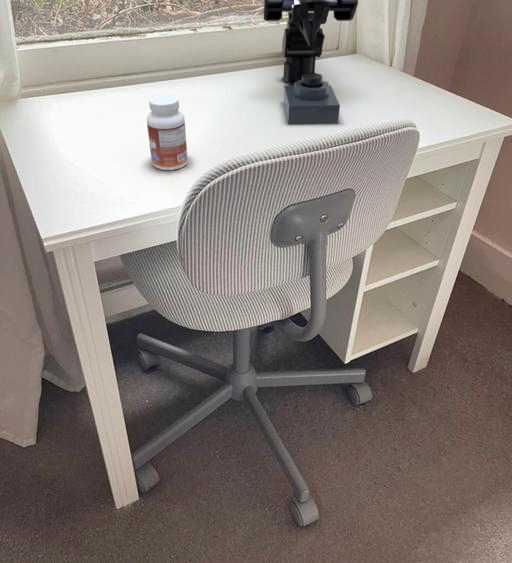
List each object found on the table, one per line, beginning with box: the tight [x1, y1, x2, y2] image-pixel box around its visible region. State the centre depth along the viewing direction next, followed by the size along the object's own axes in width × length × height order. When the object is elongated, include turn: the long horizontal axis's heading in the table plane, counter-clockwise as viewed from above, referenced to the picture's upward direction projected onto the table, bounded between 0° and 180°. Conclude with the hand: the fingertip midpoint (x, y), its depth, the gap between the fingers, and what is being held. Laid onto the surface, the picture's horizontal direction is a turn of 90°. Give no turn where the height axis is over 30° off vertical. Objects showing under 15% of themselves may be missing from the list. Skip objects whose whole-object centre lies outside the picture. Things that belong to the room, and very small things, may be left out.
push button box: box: [283, 79, 341, 125], centre depth 110 cm, size 12×10×6 cm
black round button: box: [302, 72, 323, 88], centre depth 108 cm, size 4×4×2 cm
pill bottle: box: [146, 94, 188, 171], centre depth 89 cm, size 6×6×11 cm
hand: (311, 45), depth 108 cm, fingers closed
